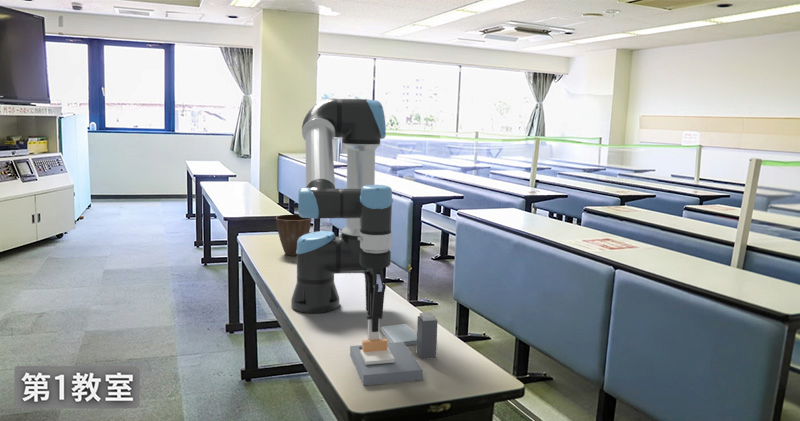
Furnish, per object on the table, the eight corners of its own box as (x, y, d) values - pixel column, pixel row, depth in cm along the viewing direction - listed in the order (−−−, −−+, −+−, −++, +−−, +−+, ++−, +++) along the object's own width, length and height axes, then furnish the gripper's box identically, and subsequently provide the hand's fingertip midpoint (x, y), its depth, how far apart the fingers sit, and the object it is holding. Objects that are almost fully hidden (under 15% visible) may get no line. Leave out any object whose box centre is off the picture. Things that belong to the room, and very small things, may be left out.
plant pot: (272, 251, 255) (272, 215, 252) (306, 248, 261) (306, 213, 259) (280, 259, 242) (280, 221, 239) (315, 256, 248) (315, 219, 245)
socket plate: (350, 355, 149) (350, 346, 149) (403, 350, 153) (403, 341, 152) (363, 385, 133) (363, 375, 133) (422, 379, 137) (422, 369, 136)
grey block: (416, 353, 152) (417, 312, 150) (431, 352, 153) (432, 311, 151) (420, 359, 148) (422, 317, 146) (436, 358, 149) (437, 316, 147)
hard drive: (423, 339, 158) (407, 323, 170) (394, 342, 155) (380, 326, 167) (423, 345, 158) (407, 328, 170) (394, 348, 156) (380, 331, 167)
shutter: (360, 352, 144) (360, 340, 143) (387, 350, 146) (388, 338, 145) (365, 364, 137) (366, 351, 137) (394, 362, 139) (395, 349, 139)
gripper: (354, 244, 147) (353, 334, 150) (365, 256, 134) (363, 354, 138) (384, 243, 149) (382, 332, 152) (397, 255, 136) (394, 351, 140)
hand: (373, 342), depth 145 cm, fingers closed
